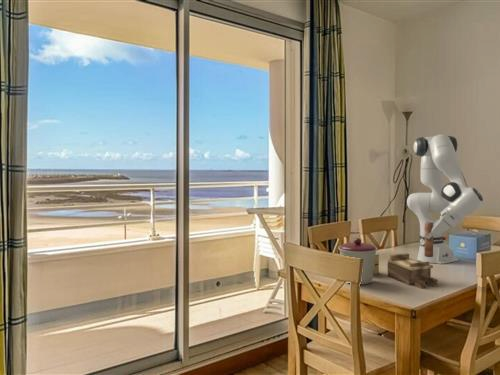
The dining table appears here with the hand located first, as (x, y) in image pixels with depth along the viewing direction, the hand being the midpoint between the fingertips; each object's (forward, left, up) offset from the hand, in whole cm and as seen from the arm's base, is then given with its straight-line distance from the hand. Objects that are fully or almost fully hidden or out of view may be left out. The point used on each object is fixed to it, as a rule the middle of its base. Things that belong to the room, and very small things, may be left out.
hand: (427, 236), depth 195 cm
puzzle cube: (+20, -22, -21) cm, 36 cm away
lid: (+7, -4, -14) cm, 16 cm away
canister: (+32, -10, -21) cm, 40 cm away
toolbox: (+7, -2, -21) cm, 22 cm away
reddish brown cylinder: (-1, 0, -9) cm, 9 cm away
